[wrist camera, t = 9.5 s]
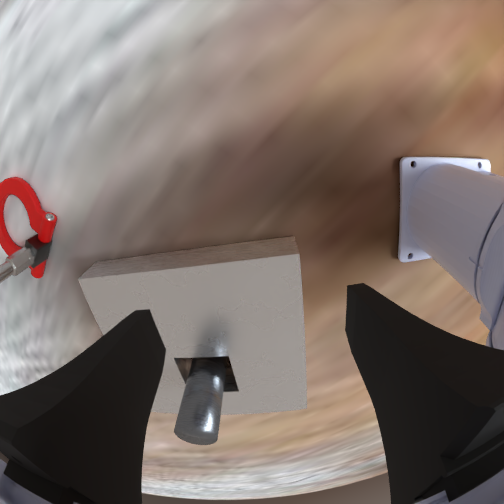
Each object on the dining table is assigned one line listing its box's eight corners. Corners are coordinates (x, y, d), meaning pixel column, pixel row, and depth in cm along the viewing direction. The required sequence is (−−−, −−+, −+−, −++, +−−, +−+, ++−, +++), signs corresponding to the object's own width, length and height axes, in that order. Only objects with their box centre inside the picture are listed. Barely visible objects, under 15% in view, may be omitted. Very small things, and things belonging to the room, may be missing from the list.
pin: (225, 338, 23) (212, 426, 15) (231, 361, 25) (221, 445, 16) (192, 338, 24) (168, 423, 15) (199, 362, 25) (181, 443, 17)
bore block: (293, 235, 20) (299, 253, 17) (303, 385, 26) (306, 408, 23) (95, 262, 21) (77, 279, 18) (155, 390, 27) (148, 411, 24)
